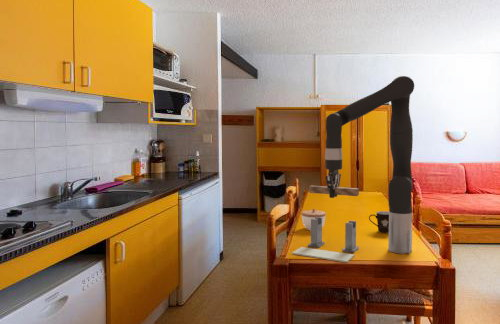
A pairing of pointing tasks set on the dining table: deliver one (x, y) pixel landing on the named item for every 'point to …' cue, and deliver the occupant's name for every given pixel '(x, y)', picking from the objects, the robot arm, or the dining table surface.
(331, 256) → the white flat slab
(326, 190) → the walnut bar
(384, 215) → the coffee mug
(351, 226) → the forked posts
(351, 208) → the dining table surface
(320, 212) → the lidded bowl
